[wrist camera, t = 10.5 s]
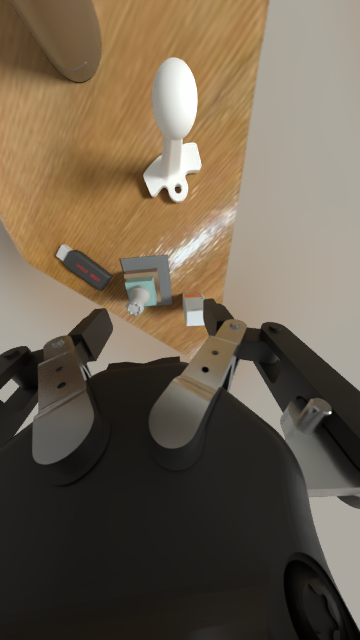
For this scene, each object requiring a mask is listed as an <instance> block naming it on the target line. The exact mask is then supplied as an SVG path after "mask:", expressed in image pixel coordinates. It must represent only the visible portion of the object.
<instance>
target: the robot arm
mask: <svg viewBox="0 0 360 640" xmlns="http://www.w3.org/2000/svg"><path fill="white" fill-rule="evenodd" d="M9 1H10V3H11V4H12V6H13V7H14V9H15V10H16V12H17V13H18V15H19V16H20V18H21V19H22V21H23V22H24V24H25V25H26V27H27V28H28V30H29V31H30V33H31V34H32V35H33V37H34V38H35V40H36V41H37V43H38V44H39V46H40V47H41V49H42V50H43V52H44V53H45V55H46V56H47V58H48V59H49V60H50V62H51V63H52V64H53V66H54V67H55V68H56V69H57V70H58V71H59V72H60V73H61V74H62V75H64V76H65V77H66V78H68V79H70V80H72V81H75V82H83V81H87V80H88V79H90V78H91V77H92V76H93V75H94V73H95V72H96V70H97V67H98V65H99V60H100V55H101V37H100V29H99V24H98V19H97V16H96V12H95V9H94V6H93V3H92V0H9ZM203 321H204V324H205V327H206V329H207V332H208V334H209V337H208V338H207V340H206V341H205V343H204V344H203V345H202V347H201V348H200V349H199V351H198V352H197V354H196V355H195V356H194V358H193V359H192V360H191V362H190V363H186V362H180V357H179V356H178V357H169V358H161V359H158V360H155V361H151V362H148V363H144V364H141V363H132V362H121V363H112V364H109V365H108V367H107V369H106V370H104V371H101V372H99V373H97V374H95V375H93V376H92V375H91V372H90V370H89V367H88V365H87V362H91V361H96V360H97V358H98V356H99V355H100V353H101V351H102V349H103V347H104V346H105V344H106V342H107V340H108V338H109V337H110V335H111V333H112V331H113V325H112V322H111V320H110V317H109V314H108V312H107V310H106V309H105V308H102V309H95V310H93V311H92V313H90V315H89V316H87V317H86V318H84V319H83V320H82V321H81V322H80V323H79V324H78V325H77V326H76V327H75V328H74V329H73V330H72V331H71V332H70V333H69V334H68V335H66V336H60V337H57V338H54V339H52V340H51V341H49V342H47V343H46V344H45V345H44V347H43V349H41V350H37V351H34V352H31V351H30V350H29V348H28V347H26V346H21V347H16V348H13V349H10V350H8V351H6V352H4V353H3V354H1V355H0V389H1V388H2V387H3V386H4V385H5V384H6V383H7V382H8V381H9V380H10V379H13V380H14V381H15V382H16V383H17V384H18V385H19V386H20V387H19V388H18V389H17V390H16V391H15V392H14V393H13V394H12V395H11V396H10V398H9V399H8V400H7V401H6V402H5V403H3V402H2V401H1V400H0V640H360V630H359V629H358V627H357V625H356V623H355V621H354V619H353V618H352V615H351V614H350V612H349V610H348V608H347V606H346V604H345V602H344V600H343V598H342V596H341V594H340V592H339V590H338V588H337V586H336V584H335V582H334V579H333V577H332V575H331V572H330V570H329V568H328V565H327V562H326V560H325V557H324V554H323V551H322V548H321V546H320V543H319V539H318V536H317V533H316V529H315V526H314V523H313V518H312V514H311V509H310V504H309V498H308V497H326V496H337V497H338V498H339V499H340V500H342V501H343V502H345V503H346V504H348V505H350V506H352V507H354V508H358V509H360V391H359V390H357V389H356V388H355V387H354V386H353V385H352V384H351V383H349V382H348V381H347V380H346V379H345V378H344V377H343V376H341V375H340V374H339V373H338V372H337V371H336V370H334V369H333V368H332V367H331V366H330V365H329V364H328V363H326V362H325V361H324V360H323V359H322V358H321V357H320V356H318V355H317V354H316V353H315V352H314V351H313V350H311V349H310V348H309V347H308V346H307V345H306V344H305V343H303V342H302V341H301V340H300V339H299V338H298V337H297V336H295V335H294V334H293V333H292V332H291V331H290V330H289V329H287V328H286V327H285V326H283V325H281V324H278V323H274V322H266V323H263V324H262V326H261V329H256V328H248V327H247V325H246V324H245V323H244V322H242V321H240V320H236V319H234V318H233V317H232V315H231V314H230V313H229V311H228V310H227V309H226V308H225V306H223V305H221V304H217V303H216V302H215V301H214V299H213V298H212V299H204V300H203ZM278 358H279V359H278ZM240 359H243V360H249V361H253V362H254V364H255V366H256V367H257V369H258V371H259V372H260V374H261V376H262V378H263V379H264V381H265V383H266V384H267V386H268V388H269V390H270V391H271V393H272V395H273V396H274V398H275V400H276V401H277V403H278V405H279V407H280V408H281V410H282V412H283V415H282V416H281V419H280V422H281V423H280V424H281V427H282V430H283V432H284V436H285V440H284V439H283V438H282V437H281V435H280V434H279V433H278V432H277V431H276V430H275V429H274V428H273V427H272V426H270V425H269V424H268V423H267V422H265V421H264V420H263V419H262V418H260V417H259V416H258V415H257V414H255V413H254V412H253V411H252V410H250V409H249V408H248V407H247V406H245V405H244V404H243V403H242V402H240V401H239V400H238V399H237V398H235V397H234V396H233V395H232V394H230V393H229V390H230V386H231V383H232V380H233V376H234V374H235V372H236V369H237V366H238V364H239V361H240ZM37 403H38V406H39V407H38V409H39V410H38V414H37V415H36V416H35V417H34V419H33V422H32V423H31V424H30V425H28V426H27V427H26V428H24V429H23V430H22V431H20V432H19V433H18V434H17V435H15V434H16V432H17V431H18V429H19V428H20V426H21V425H22V424H23V422H24V421H25V420H26V418H27V417H28V415H29V414H30V413H31V411H32V410H33V408H34V407H35V406H36V404H37ZM14 435H15V436H14Z"/></svg>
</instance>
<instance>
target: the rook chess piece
mask: <svg viewBox="0 0 360 640" xmlns="http://www.w3.org/2000/svg"><path fill="white" fill-rule="evenodd" d="M130 298H131V300H130V301H129V302H128V303H127V305H126V308H127V311H128V312H129V314H131V315H132V314H133V315H134V316H137V315H139V314H141V313H142V312H143V310H144V305H145V304H147V302H148V301H149V299H150V292H149V290H148V289H147V288H145V287H143V286H136V287H134V288H133V289H132V290H131V293H130Z"/></svg>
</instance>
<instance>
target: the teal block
mask: <svg viewBox="0 0 360 640" xmlns="http://www.w3.org/2000/svg"><path fill="white" fill-rule="evenodd" d="M125 286H126V290H127V293H128V297H129V301H130V300H131V298H130V293H131V290H132V289H133V288H134V287H136V286H143V287H145V288H147V289H148V290H149V292H150V299H149V301H148V302H147V304H145V305H144V306H151V305H156V301H157V296H156V290H155V284H154V278H153V276H150V277H138V278H129V279H128V280H127V281H126V282H125Z"/></svg>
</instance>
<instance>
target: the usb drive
mask: <svg viewBox="0 0 360 640" xmlns="http://www.w3.org/2000/svg"><path fill="white" fill-rule="evenodd" d="M56 257H58V258H59V259H61V260H62V261H63V264H64V265H65V266H66V267H67V268H68V269H69V270H70V271H72V272H73V273H75V274H76V275H78V276H79V277H81V278H82V279H84V280H85V281H87V282H88V283H89V284H91V285H92V286H94V287H95V288H97V289H98V290H103V289H104V288H105V287H106V285H107V284H108V282H109V281H110V280H111V278H112V277H113V275H111V274H110V273H109V272H107V271H106V270H105V269H103V268H102V267H101V266H99V265H98V264H97V263H96V262H94V261H93V260H92V259H90V258H89V257H88V256H86V255H85V254H84V253H82V252H81V251H78V250H73V249H71V248H70V247H69V246H67V245H66V244H65V245H61V247H60V249H59V251H58V253H57V255H56Z"/></svg>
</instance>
